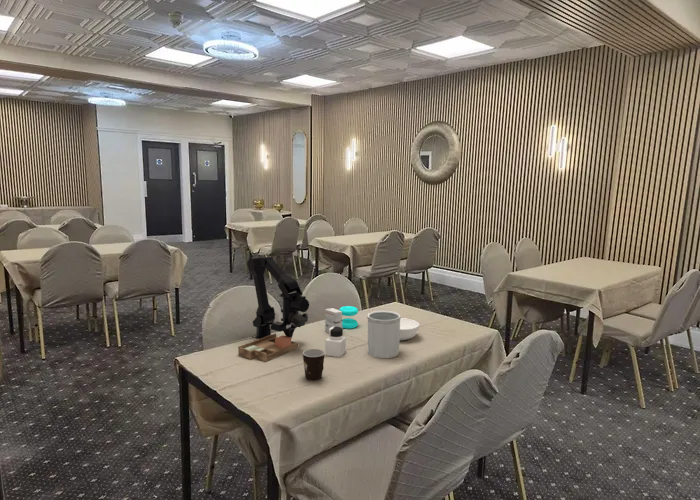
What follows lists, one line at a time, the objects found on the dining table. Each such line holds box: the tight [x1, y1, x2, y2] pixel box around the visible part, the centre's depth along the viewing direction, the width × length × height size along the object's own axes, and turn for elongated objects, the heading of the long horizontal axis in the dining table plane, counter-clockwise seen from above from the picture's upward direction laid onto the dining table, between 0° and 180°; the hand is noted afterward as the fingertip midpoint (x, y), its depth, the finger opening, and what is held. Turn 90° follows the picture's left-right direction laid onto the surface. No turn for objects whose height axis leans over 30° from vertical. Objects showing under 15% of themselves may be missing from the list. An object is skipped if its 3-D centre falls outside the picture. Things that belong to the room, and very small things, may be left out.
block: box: [275, 334, 292, 348], centre depth 207 cm, size 5×5×4 cm
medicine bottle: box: [324, 326, 347, 358], centre depth 204 cm, size 7×7×12 cm
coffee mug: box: [302, 348, 326, 382], centre depth 178 cm, size 12×9×10 cm
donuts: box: [338, 305, 359, 330], centre depth 243 cm, size 10×10×10 cm
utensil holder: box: [366, 310, 402, 359], centre depth 206 cm, size 15×15×18 cm
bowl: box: [399, 317, 420, 341], centre depth 227 cm, size 18×18×7 cm
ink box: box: [324, 307, 343, 334], centre depth 232 cm, size 9×5×12 cm, turn 39°
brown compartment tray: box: [237, 332, 299, 363], centre depth 206 cm, size 15×23×4 cm, turn 145°
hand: (289, 340), depth 210 cm, fingers closed
